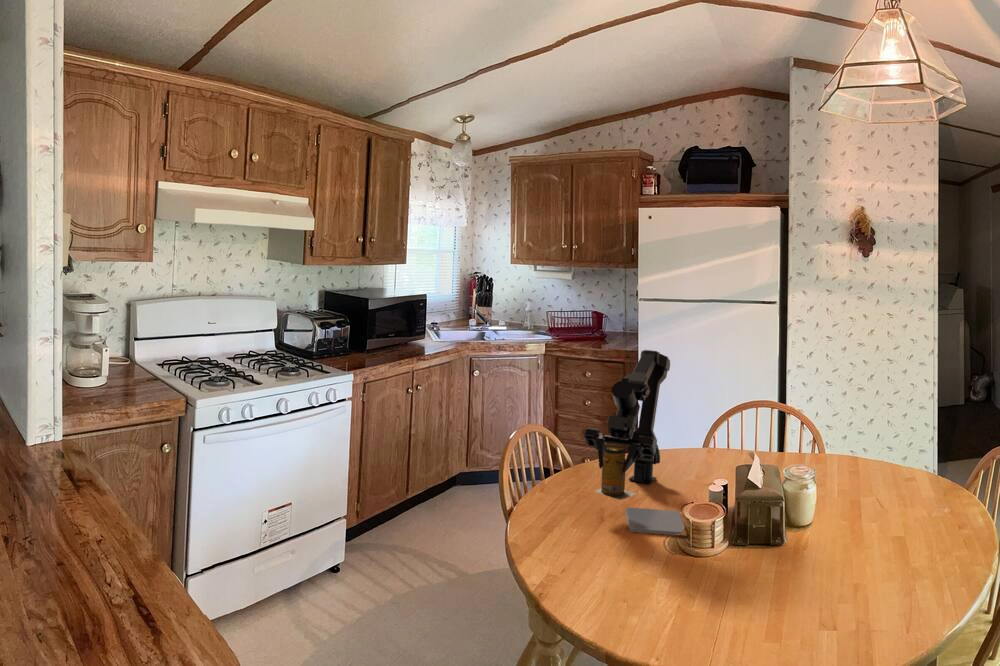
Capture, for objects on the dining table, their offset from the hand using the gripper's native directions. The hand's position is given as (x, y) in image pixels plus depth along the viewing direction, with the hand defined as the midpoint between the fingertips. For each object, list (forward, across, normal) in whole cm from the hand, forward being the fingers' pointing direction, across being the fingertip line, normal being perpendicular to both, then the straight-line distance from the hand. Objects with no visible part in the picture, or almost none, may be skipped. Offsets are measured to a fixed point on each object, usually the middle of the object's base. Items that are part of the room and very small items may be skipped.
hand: (611, 469), depth 176 cm
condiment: (+4, +1, +6) cm, 7 cm away
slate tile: (+7, +11, +12) cm, 18 cm away
